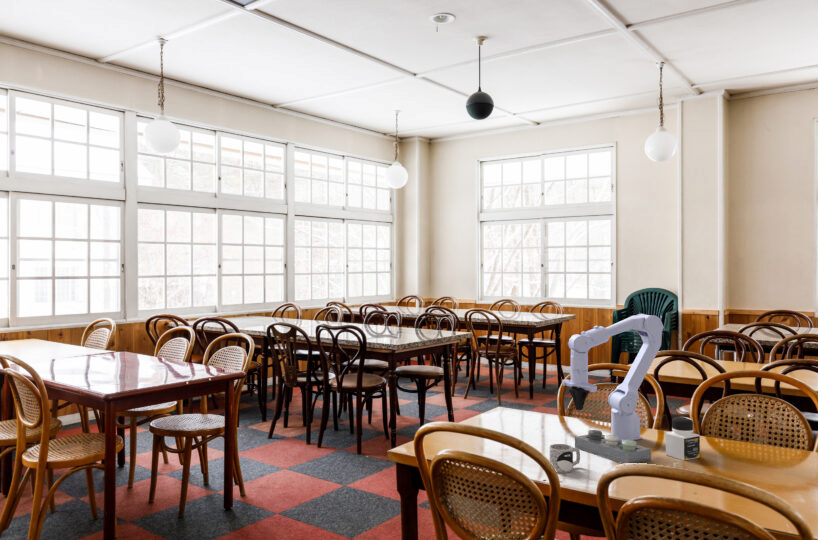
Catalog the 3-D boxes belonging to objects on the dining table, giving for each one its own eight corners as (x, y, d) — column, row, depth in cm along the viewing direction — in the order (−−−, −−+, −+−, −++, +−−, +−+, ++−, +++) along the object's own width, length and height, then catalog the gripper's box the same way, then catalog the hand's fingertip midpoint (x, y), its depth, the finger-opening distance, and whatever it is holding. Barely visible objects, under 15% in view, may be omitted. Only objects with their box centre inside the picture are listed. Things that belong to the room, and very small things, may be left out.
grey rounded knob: (594, 441, 209) (594, 429, 209) (604, 444, 205) (604, 432, 205) (585, 443, 207) (585, 431, 207) (595, 446, 203) (595, 433, 203)
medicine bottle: (684, 461, 192) (684, 421, 192) (665, 455, 198) (665, 416, 198) (700, 457, 195) (700, 419, 195) (680, 451, 202) (680, 414, 202)
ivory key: (611, 446, 203) (611, 434, 203) (621, 449, 199) (621, 437, 199) (601, 448, 201) (601, 435, 201) (611, 451, 197) (611, 438, 197)
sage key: (628, 451, 197) (628, 439, 197) (639, 455, 193) (639, 442, 193) (618, 453, 195) (618, 440, 195) (629, 457, 191) (629, 444, 191)
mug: (558, 474, 180) (558, 451, 180) (545, 467, 186) (544, 445, 186) (587, 470, 184) (587, 447, 184) (572, 463, 190) (572, 441, 190)
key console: (597, 443, 212) (597, 432, 212) (651, 460, 193) (650, 449, 193) (574, 447, 207) (574, 436, 207) (628, 465, 188) (627, 453, 188)
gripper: (555, 367, 221) (555, 406, 221) (586, 373, 208) (586, 415, 208) (570, 366, 224) (570, 404, 224) (601, 372, 211) (601, 412, 211)
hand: (579, 409), depth 216 cm, fingers closed
